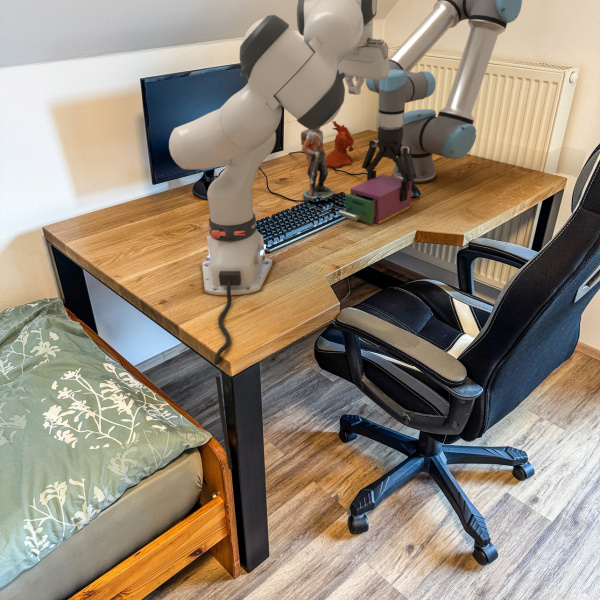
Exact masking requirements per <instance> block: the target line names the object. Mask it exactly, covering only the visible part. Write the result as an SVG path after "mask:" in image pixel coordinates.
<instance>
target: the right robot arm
mask: <svg viewBox="0 0 600 600" xmlns="http://www.w3.org/2000/svg"><path fill="white" fill-rule="evenodd" d="M522 5H523V0H437V1H436V2H435V3H434V5H433V7H432V11H431V12H430V13H429V14H428V15H427V16H426V18H425V19H424V20H423V21H422V22H421V23H420V24H419V25H418V27H416V29H415V30H413V32H412V33H411V34H410V35H409V36H408V37H407V39H405V40H404V42H403V43H402V44H401V45H400V46H399V47H398V48H397V49H396V50H395V51H394V52H393V54H392V55H390V57H389V75H388V77H387V78H386V79H382V80H374V79H367V78H365V85H366V88H367V89H368V90H369V91H370V92H374V93H377V94H378V113H377V114H378V115H377V116H378V117H377V125H378V127H377V138H374V139H372V140H371V139H370V140H369V143H368V149H367V151H366V155H365V157H364V160H363V163H362V165H361V168H362V169H363V170H364V169H365V171H366V181H368V180H370V179H373V178H375V177H377V170H375V169H376V167H377V166H378V164H380V162H381V160H382V159H383V158H388V159H389V160H392V162H394V165H393V168H392V175H391V176H392V177H396V178H400V179H403V181H401V194H400V201H401V202H403V201H405V200H407V194H408V191H409V190H410V181H411V182H412V184H424V183H430V182H432V181H434V180H435V179H436V174H437V173H436V167H435V163H434V159H433V155H436V156H440V157H443V158H445V159H452V160H459V159H461V158H463V157H465V156H466V155H467V154H468V153H470V151H471V150H472V149H473V147H474V144H475V143H476V139H477V128H476V126H474V122H475V119H474V116H473V114H472V113H473V110H474V107H475V105H476V101H477V100H478V99H477V98H478V95H479V93H480V90H481V87H482V84H483V81H484V79H485V74H486V72H487V69H488V66H489V63H490V60H491V57H492V55H493V52H494V49H495V46H496V43H497V40H498V37H499V35H501V34H503V33H504V32H505V31H506V28H507V26H508V24H511V23H512V22H515V20H516V19H517V18H518V17H519V15H520V12H521V10H522ZM465 20H468V21H467V24H468V25H469V27H470V31H469V34H468V37H467V39H466V42H465V46H464V49H463V52H462V55H461V57H460V61H459V64H458V67H457V70H456V74H455V76H454V80H453V83H452V86H451V89H450V92H449V94H448V98H447V100H446V103H445V107H443V108H442V109H440V110H439V111H438V113H436V112H437V111H436V110H434V109H430V108H429V109H428V108H425V109H423V108H422V109H413V110H408V111H406V112H405V110H406V109H405V108H406V104H407V103H411V102H416V101H420V100H424V99H426V98H428V97H429V98H430V97H431V96H432V95H433V94H434V93H435V90H436V84H437V83H436V78H435V76H434V75H433V74H432V72H430V71H427V70H426V71H425V70H424V71H422V70H421V71H418V72H411V71H412V70H413V69H414V68H415V66H416V65H417V64H418V63H419V62H420V61H421V60H422V59H423V58H424V57H425V55H426V54H427V53H428V52H429V51H430V50H431V49H432V48H433V46H435V44H436V43H437V42H438V41H439V40H440V39H441V38H442V37H443V36H444V35H445V34H446V32H447V31H448V30H449V29H452V28H455V27H456V26H457V25H458V24H459V23H460V22H462V21H465ZM377 148H378V151H377ZM376 151H377V153H376ZM375 153H376V154H375Z"/></svg>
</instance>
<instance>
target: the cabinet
mask: <svg viewBox="0 0 600 600" xmlns="http://www.w3.org/2000/svg"><path fill="white" fill-rule="evenodd" d="M401 181H403V179H400V178H396V177H393V176H392V175H388V174H384V173H382V174H379V175H376V177H375V178H373V179H370V180H368V181H367V180H365V181H363V182H362V183H359V184H357V185H354V186H353V187H350V188H349V191H350V193H349V194H350V195H353V196H354V194H355V193H357V194H360V195H363V196H367V197H370V198H373V199H377V212H376V218H374V220H373V223H375V224H378V225H380V224H381V223H384V222H385V221H388V220H389V219H391V218H393V217H395V216H397V215H399V214H401V213H403V212H404V211H406V210H408V209H410V208H411V200H412V199H411V198H412V185H413V183H412V182H411V181H410V190H409V191H408V194H407V200H405V201H403V202H401V201H400V194H401Z"/></svg>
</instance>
